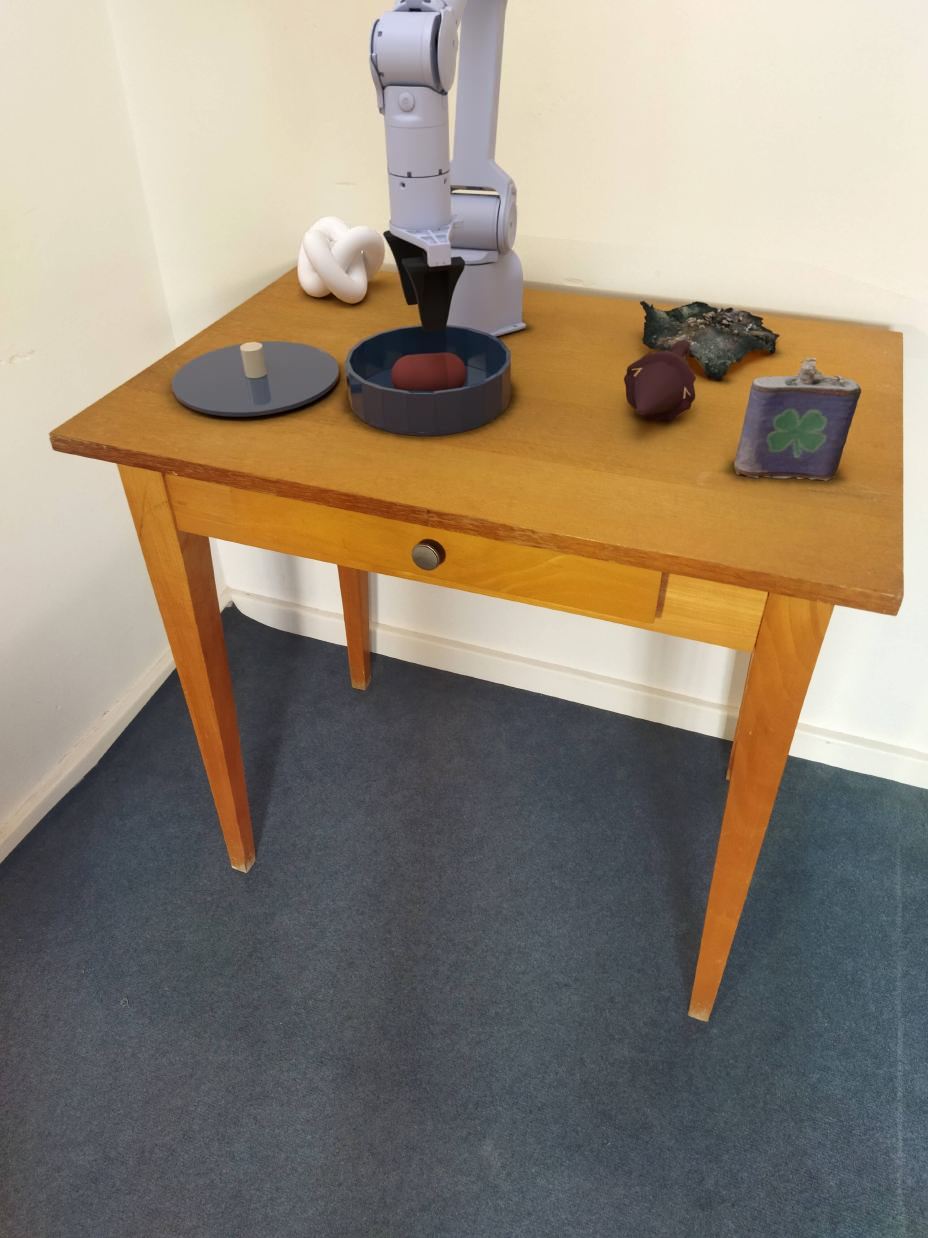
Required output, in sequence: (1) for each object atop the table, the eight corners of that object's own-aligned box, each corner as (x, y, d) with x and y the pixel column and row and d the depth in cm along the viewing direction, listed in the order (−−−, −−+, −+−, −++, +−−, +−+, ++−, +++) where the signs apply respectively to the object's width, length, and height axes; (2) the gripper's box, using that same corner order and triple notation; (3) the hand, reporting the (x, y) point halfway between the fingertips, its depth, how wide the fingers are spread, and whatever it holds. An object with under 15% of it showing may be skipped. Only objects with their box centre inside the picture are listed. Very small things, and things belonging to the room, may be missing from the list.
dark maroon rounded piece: (691, 395, 80) (724, 346, 91) (618, 362, 81) (658, 318, 92) (661, 459, 84) (696, 405, 95) (592, 427, 86) (634, 378, 97)
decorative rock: (678, 274, 111) (800, 285, 104) (673, 323, 114) (791, 337, 107) (619, 314, 97) (755, 330, 91) (616, 369, 101) (747, 387, 94)
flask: (734, 477, 81) (758, 366, 74) (731, 461, 83) (753, 352, 76) (838, 482, 80) (872, 370, 73) (831, 465, 82) (863, 356, 75)
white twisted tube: (371, 273, 125) (365, 205, 119) (403, 300, 116) (398, 229, 111) (294, 286, 121) (284, 217, 115) (321, 315, 113) (312, 243, 107)
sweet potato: (390, 385, 95) (388, 348, 92) (463, 379, 96) (463, 342, 93) (393, 407, 92) (391, 370, 89) (469, 401, 93) (469, 364, 90)
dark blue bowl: (454, 351, 104) (453, 312, 101) (542, 406, 92) (544, 364, 90) (322, 388, 97) (317, 348, 94) (400, 452, 85) (397, 409, 83)
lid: (298, 337, 107) (293, 302, 105) (368, 392, 96) (365, 354, 93) (151, 374, 100) (142, 337, 97) (208, 438, 88) (199, 399, 86)
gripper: (483, 186, 76) (483, 338, 84) (441, 148, 86) (445, 287, 95) (403, 193, 74) (411, 348, 83) (371, 154, 85) (381, 295, 94)
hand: (425, 316), depth 89 cm, fingers open, 7 cm apart
